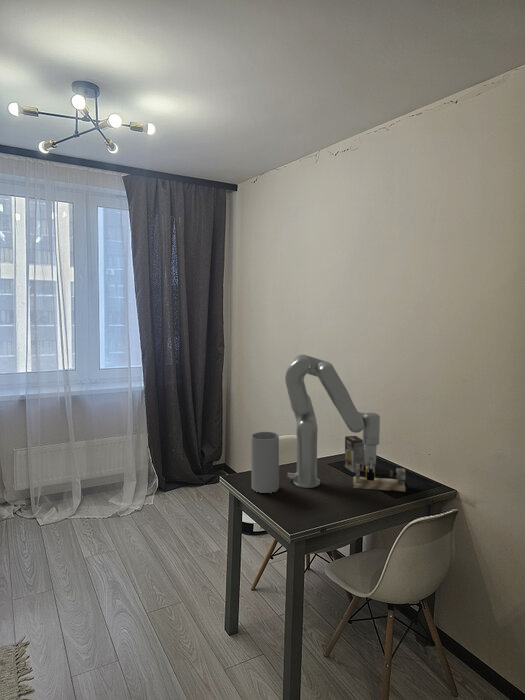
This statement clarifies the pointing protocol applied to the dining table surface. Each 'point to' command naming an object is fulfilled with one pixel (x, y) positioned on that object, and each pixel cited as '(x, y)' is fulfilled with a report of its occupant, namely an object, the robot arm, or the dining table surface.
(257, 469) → the cylinder vase
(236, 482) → the dining table surface
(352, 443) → the coffee box
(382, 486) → the cord rig
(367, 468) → the sleeve
